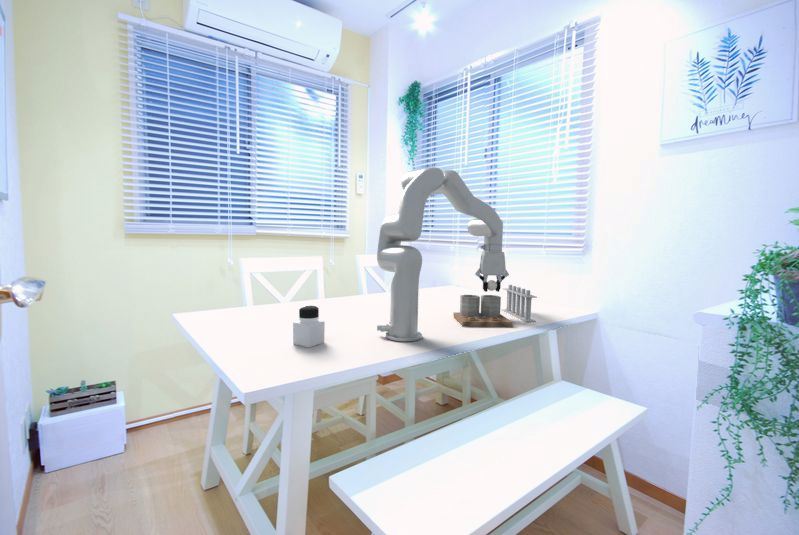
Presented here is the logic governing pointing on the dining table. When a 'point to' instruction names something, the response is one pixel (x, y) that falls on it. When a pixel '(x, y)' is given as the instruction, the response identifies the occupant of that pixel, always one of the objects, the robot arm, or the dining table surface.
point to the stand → (488, 312)
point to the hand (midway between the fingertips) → (491, 290)
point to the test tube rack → (514, 301)
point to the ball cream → (492, 285)
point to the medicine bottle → (308, 327)
